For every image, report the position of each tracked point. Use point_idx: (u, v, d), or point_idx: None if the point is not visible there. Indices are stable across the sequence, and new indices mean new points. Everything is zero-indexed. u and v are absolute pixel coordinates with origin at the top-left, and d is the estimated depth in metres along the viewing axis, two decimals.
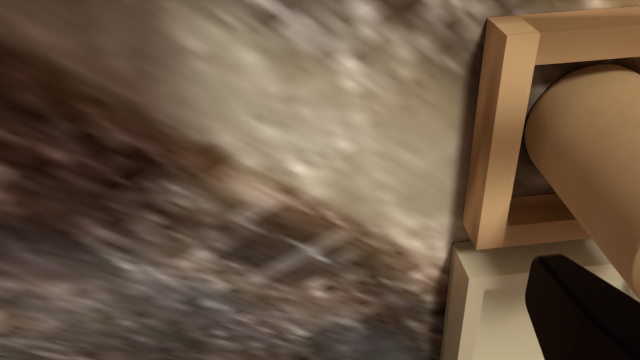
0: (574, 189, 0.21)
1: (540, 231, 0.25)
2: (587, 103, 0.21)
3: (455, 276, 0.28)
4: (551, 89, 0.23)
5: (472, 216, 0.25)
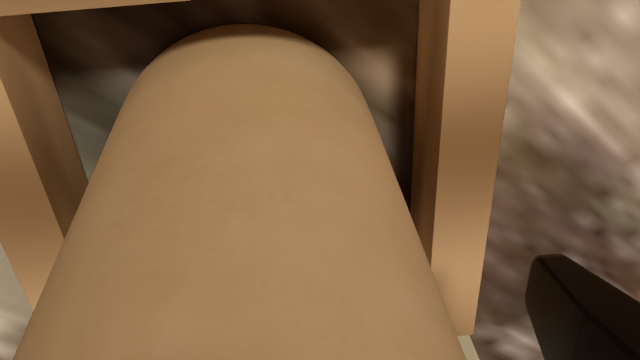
0: None
1: None
2: (134, 105, 0.09)
3: None
4: (137, 78, 0.11)
5: None
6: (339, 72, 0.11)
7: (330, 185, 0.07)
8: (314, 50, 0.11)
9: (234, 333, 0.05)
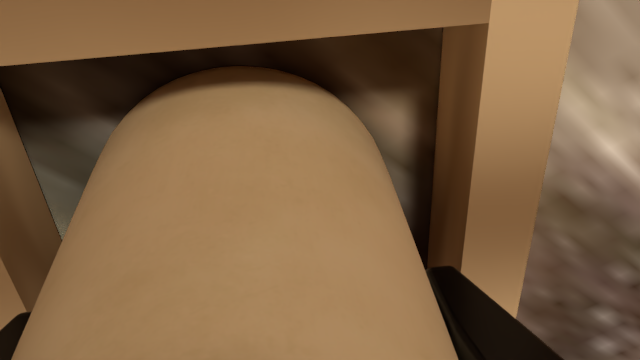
0: None
1: None
2: (105, 175, 0.08)
3: None
4: (114, 129, 0.10)
5: None
6: (351, 125, 0.09)
7: (349, 314, 0.05)
8: (321, 98, 0.09)
9: None
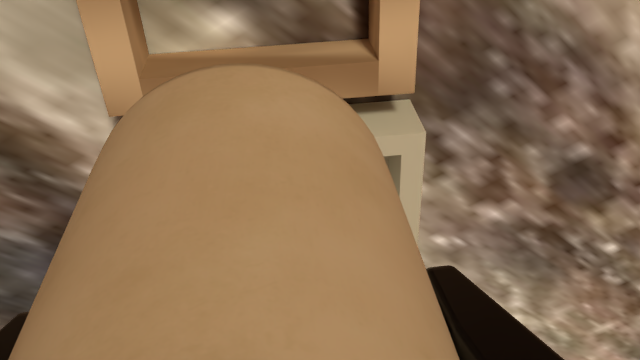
0: None
1: None
2: (105, 171, 0.08)
3: None
4: (115, 126, 0.10)
5: None
6: (351, 122, 0.09)
7: (348, 310, 0.05)
8: (323, 96, 0.09)
9: None
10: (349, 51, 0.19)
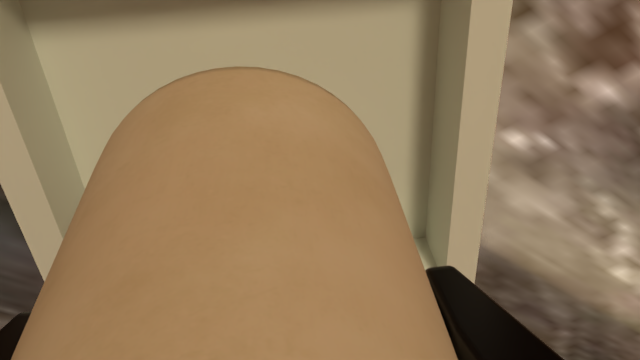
0: None
1: None
2: (105, 175, 0.08)
3: None
4: (115, 129, 0.10)
5: None
6: (351, 125, 0.09)
7: (348, 316, 0.05)
8: (323, 99, 0.09)
9: None
10: None
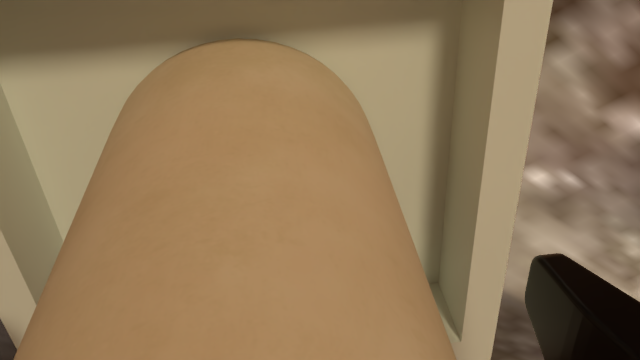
0: None
1: None
2: (125, 128, 0.09)
3: None
4: None
5: None
6: (338, 89, 0.10)
7: (329, 221, 0.06)
8: (312, 66, 0.11)
9: None
10: None
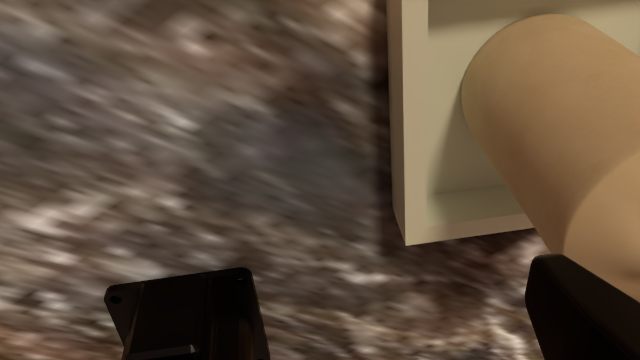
0: (505, 161, 0.17)
1: None
2: (519, 58, 0.18)
3: None
4: (484, 47, 0.20)
5: None
6: None
7: None
8: (592, 26, 0.19)
9: None
10: None
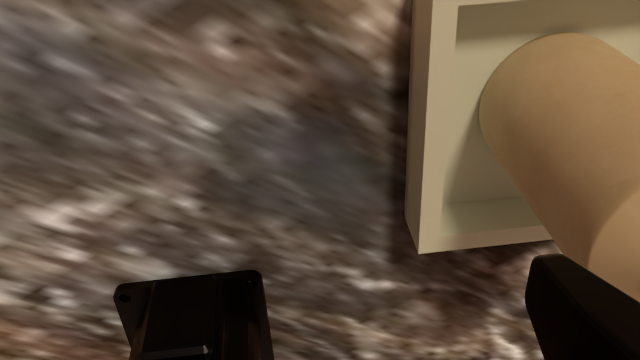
0: (527, 175, 0.18)
1: None
2: (542, 74, 0.18)
3: (418, 10, 0.19)
4: (505, 62, 0.20)
5: None
6: None
7: None
8: (611, 46, 0.20)
9: None
10: None
